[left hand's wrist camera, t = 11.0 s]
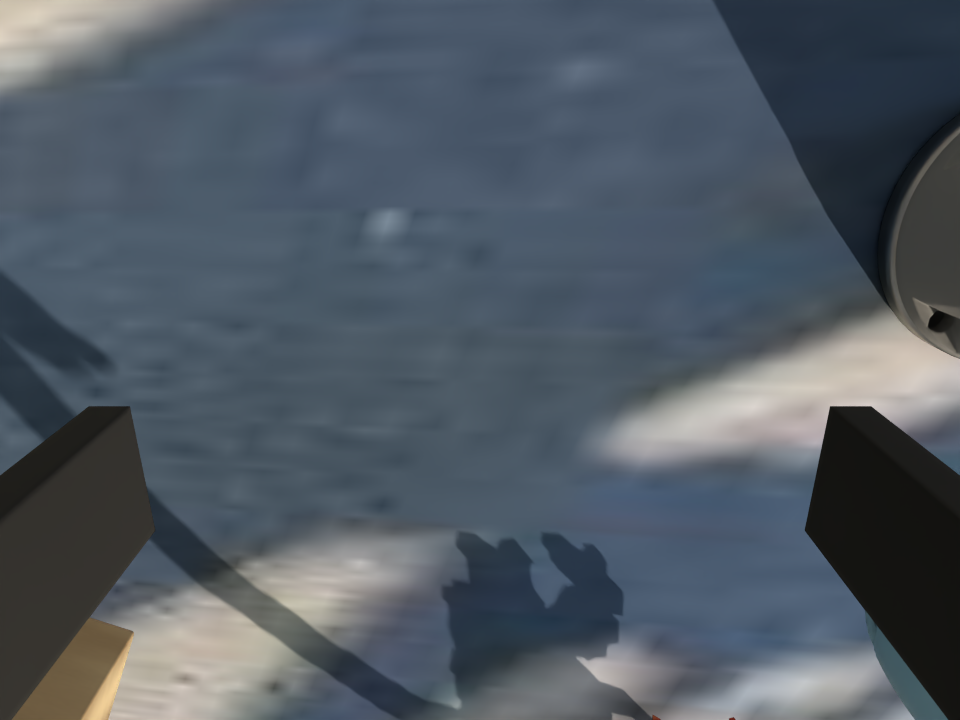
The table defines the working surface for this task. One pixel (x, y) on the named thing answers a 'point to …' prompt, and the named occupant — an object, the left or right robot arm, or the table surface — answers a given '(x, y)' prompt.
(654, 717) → the toy
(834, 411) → the left robot arm
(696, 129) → the table surface
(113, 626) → the plank
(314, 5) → the table surface
